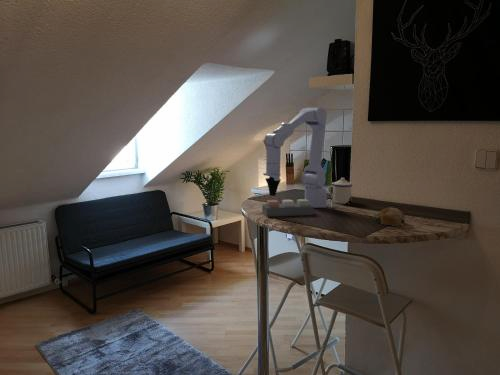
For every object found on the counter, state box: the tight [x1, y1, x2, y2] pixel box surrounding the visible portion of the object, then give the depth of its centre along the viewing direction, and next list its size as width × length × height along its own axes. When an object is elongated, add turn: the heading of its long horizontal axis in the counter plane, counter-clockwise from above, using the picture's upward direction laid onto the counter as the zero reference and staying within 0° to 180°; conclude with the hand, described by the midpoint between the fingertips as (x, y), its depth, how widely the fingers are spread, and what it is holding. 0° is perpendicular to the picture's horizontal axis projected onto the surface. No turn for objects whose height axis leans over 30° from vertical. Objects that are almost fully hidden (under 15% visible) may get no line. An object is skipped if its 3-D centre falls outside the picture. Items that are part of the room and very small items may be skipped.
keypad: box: [261, 202, 315, 217], centre depth 172 cm, size 20×8×4 cm, turn 100°
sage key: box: [296, 198, 309, 206], centre depth 173 cm, size 4×4×4 cm
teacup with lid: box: [327, 177, 353, 205], centre depth 197 cm, size 12×9×12 cm
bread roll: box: [375, 206, 405, 227], centre depth 158 cm, size 10×10×8 cm
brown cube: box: [266, 199, 279, 207], centre depth 171 cm, size 4×4×4 cm
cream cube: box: [281, 199, 295, 207], centre depth 172 cm, size 4×4×4 cm
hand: (272, 195), depth 170 cm, fingers closed
